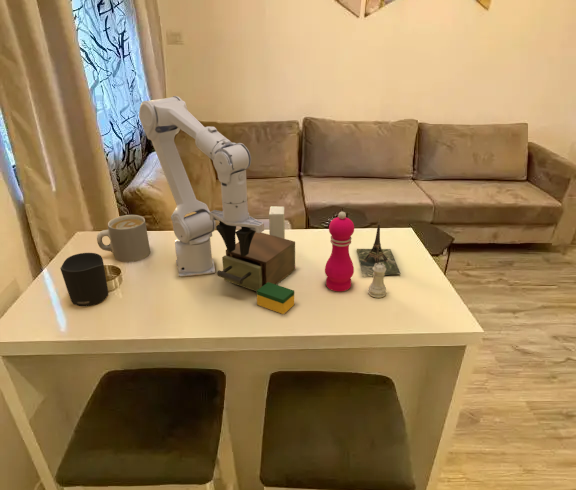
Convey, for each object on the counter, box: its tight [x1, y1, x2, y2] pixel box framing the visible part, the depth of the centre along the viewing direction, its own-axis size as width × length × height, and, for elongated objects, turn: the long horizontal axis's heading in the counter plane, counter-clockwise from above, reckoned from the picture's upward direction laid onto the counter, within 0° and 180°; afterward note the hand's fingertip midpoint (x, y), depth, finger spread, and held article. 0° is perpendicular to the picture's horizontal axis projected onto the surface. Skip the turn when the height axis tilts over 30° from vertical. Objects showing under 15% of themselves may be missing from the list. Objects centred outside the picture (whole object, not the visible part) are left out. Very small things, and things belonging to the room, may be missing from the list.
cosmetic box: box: [268, 205, 286, 239], centre depth 138 cm, size 6×4×12 cm
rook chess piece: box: [367, 263, 387, 299], centre depth 117 cm, size 4×4×8 cm
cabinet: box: [225, 231, 296, 285], centre depth 125 cm, size 13×12×8 cm
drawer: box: [216, 254, 264, 292], centre depth 122 cm, size 17×11×7 cm, turn 147°
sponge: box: [256, 282, 295, 315], centre depth 114 cm, size 5×8×4 cm, turn 57°
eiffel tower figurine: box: [356, 217, 401, 278], centre depth 129 cm, size 15×10×13 cm
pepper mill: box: [324, 211, 355, 292], centre depth 117 cm, size 7×7×20 cm
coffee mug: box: [96, 214, 151, 263], centre depth 135 cm, size 13×10×10 cm
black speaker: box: [59, 252, 109, 308], centre depth 115 cm, size 9×9×10 cm
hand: (238, 252), depth 116 cm, fingers open, 3 cm apart
